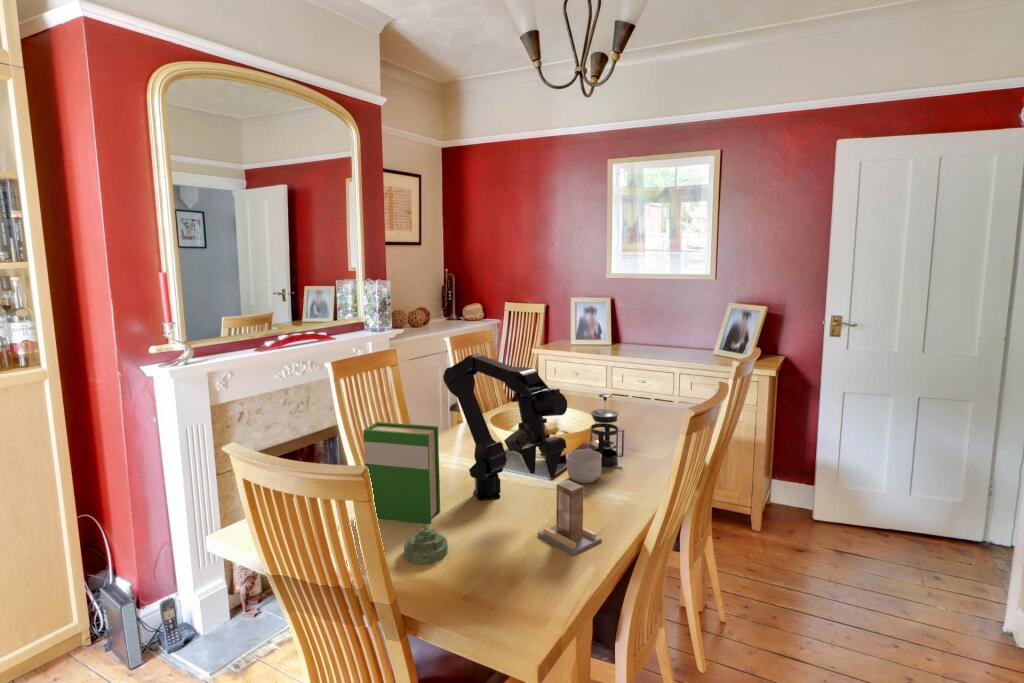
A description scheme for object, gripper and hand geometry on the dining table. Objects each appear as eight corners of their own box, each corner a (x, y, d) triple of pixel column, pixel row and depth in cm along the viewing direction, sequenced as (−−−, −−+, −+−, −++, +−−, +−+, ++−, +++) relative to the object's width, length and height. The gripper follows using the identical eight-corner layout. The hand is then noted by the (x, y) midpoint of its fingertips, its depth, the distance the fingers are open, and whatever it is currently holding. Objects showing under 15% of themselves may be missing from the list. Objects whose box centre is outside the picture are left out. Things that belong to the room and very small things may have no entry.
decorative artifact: (451, 544, 141) (411, 542, 142) (451, 517, 140) (410, 515, 141) (442, 566, 131) (399, 564, 132) (441, 537, 130) (397, 535, 131)
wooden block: (556, 534, 144) (556, 484, 141) (567, 529, 146) (568, 480, 144) (570, 542, 140) (571, 490, 138) (582, 536, 142) (583, 486, 140)
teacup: (592, 489, 171) (592, 463, 170) (559, 481, 177) (559, 456, 176) (610, 473, 183) (611, 449, 182) (579, 467, 189) (579, 443, 187)
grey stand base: (537, 535, 144) (537, 528, 144) (566, 523, 151) (566, 516, 150) (573, 555, 135) (573, 547, 135) (601, 541, 142) (602, 533, 141)
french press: (583, 465, 190) (585, 396, 186) (591, 455, 199) (592, 389, 195) (619, 470, 186) (621, 400, 182) (625, 460, 194) (627, 392, 191)
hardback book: (440, 512, 158) (438, 426, 154) (430, 524, 150) (427, 435, 146) (380, 505, 162) (376, 421, 158) (367, 517, 155) (363, 430, 151)
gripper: (488, 423, 157) (498, 480, 157) (525, 425, 141) (537, 489, 141) (522, 413, 163) (532, 468, 163) (562, 415, 147) (573, 476, 147)
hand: (542, 475), depth 153 cm, fingers open, 9 cm apart
